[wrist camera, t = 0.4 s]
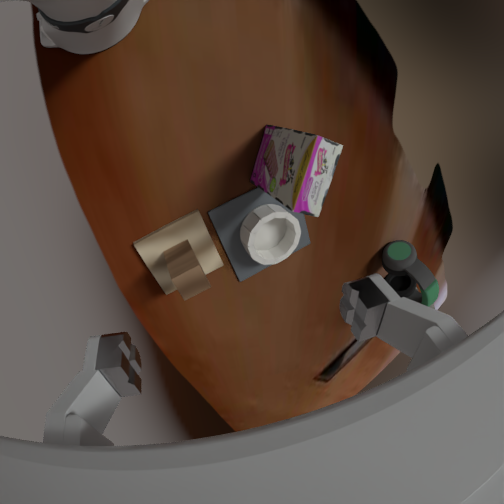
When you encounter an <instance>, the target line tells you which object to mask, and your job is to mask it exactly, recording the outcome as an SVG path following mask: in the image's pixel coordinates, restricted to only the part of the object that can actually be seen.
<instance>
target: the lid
mask: <svg viewBox="0 0 504 504" xmlns="http://www.w3.org/2000/svg"><path fill="white" fill-rule="evenodd" d="M133 243H134V246H135V248H136V249H137V251H138V253H139V254H140V256H141V257H142V259H143V261H144V262H145V264H146V265H147V267H148V268H149V270H150V271H151V273H152V274H153V276H154V277H155V279H156V280H157V282H158V283H159V285H160V286H161V288H162V289H163V291H164V292H165V294H166V295H167V294H169V293H171V292H173V291H175V290H177V289H178V291H179V293H180V294H181V296H182V297H183V299H184V300H187V299H189V298H191V297H193V296H195V295H196V294H198V293H200V292H202V291H204V290H206V289H208V288H210V287H211V285H210V283H209V281H208V279H207V277H206V274H208V273H209V272H211V271H213V270H215V269H217V268H219V267H221V266H223V263H222V260H221V258H220V256H219V254H218V252H217V250H216V248H215V245H214V243H213V241H212V239H211V237H210V235H209V232H208V230H207V228H206V226H205V224H204V221H203V219H202V217H201V215H200V213H199V210H198V209H197V210H195V211H193V212H191V213H189V214H187V215H185V216H183V217H181V218H179V219H177V220H175V221H173V222H171V223H169V224H167V225H165V226H163V227H161V228H160V229H158V230H156V231H154V232H152V233H150V234H148V235H146V236H144V237H143V238H141V239H139V240H137V241H135V242H133Z"/></svg>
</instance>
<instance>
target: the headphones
mask: <svg viewBox="0 0 504 504" xmlns="http://www.w3.org/2000/svg"><path fill="white" fill-rule="evenodd" d="M382 265H383V268H384V269H385V270H386V271H387V272H388V273H389V274H388V275H387V277H386V278H385V281H386V282H387V283H388V284H389V285H390V286H391V287H392V288H393V290H394V291H395V292H396V293H397V294H398V295H399V296H400V297H401V298H402V297H405V298H408V299H410V300H413V301H415V302H418V303H420V304H423V305H425V306H428V307H430V306H431V305H432V304H433V303H434V302H435V301H436V299H437V297H438V293H439V286H438V282H437V280H436V279H435V277H434V276H433V274H432V272H431V271H430V270H429V269H428V268H427V267H426V266H425V265H424V264H423V263H422V262H421V261H420V260H419V259H417V254H416V250H415V248H414V246H413V245H412V244H410V243H409V242H407V241H403V240H397V241H393V242H391V243H389V244H388V245H387V246H386V247H385V248H384V250H383V255H382ZM416 283H417V284H418V285H419V287H420V290H421V293H422V294H421V293H420V292H418V291H417V290H415V289H416Z"/></svg>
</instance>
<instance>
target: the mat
mask: <svg viewBox="0 0 504 504" xmlns="http://www.w3.org/2000/svg"><path fill="white" fill-rule="evenodd" d="M264 204H276V205H279V206H281V207H282V208H284V209H285V210H286V211H288V212H289V213H290V214H291V215H293V216H294V217H295V218H296V219H298V221H299V225H300V229H301V235H300V239H299V243H298V245H297V247H296V248H295V250H294V251H293V252H292V253H294V252H296V251H297V250H299V249H301V248H303V247H305V246H306V245H308V244H310V239H309V235H308V230H307V226H306V222H305V217H304V214H301V213H297V212H292V211H291V210H289V209H288V208H287V207H285V206H284V205H283V204H281V203H280V202H279V201H277V200H276V199H274V198H273V197H272V196H270V195H269V194H267V193H266V192H264V191H263V190H261V189H260V188H259V187H257V188H255V189H253V190H251V191H249V192H247V193H245V194H243V195H241V196H239V197H237V198H235V199H233V200H230V201H228V202H226V203H224V204H222V205H220V206H218V207H216V208H214V209H212V210H211V211H209V212H208V214H209V216H210V218H211V221H212V223H213V225H214V227H215V229H216V231H217V234H218V236H219V238H220V240H221V242H222V244H223V247H224V249H225V251H226V253H227V255H228V257H229V260H230V262H231V264H232V266H233V268H234V270H235V272H236V274H237V277H238V279H239V281H240V282H241V281H243V280H245V279H247V278H248V277H250V276H252V275H254V274H256V273H258V272H259V271H261V270H263V269H265V268H267V267H268V266H270V265H272V264H269V265H263V264H260V263H259V262H257V261H255V260H253V259H252V258H251V256H250V255H249V254H248V253H247V251H246V250H245V248H244V246H243V245H242V243H241V240H240V228H241V225H242V222H243V220H244V219H245V217H246V216H247V215H248V213H249V212H251V211H252V210H253V209H254V208H256V207H258V206H260V205H264ZM292 253H291V254H292Z"/></svg>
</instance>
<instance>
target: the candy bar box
mask: <svg viewBox="0 0 504 504" xmlns="http://www.w3.org/2000/svg"><path fill="white" fill-rule="evenodd" d="M342 147H343V145H340V144H338V143H335V142H333V141H331V140H328V139H326V138H323V137H320V136H318V135H315V134H310V133H306V132H302V131H297V130H292V129H288V128H282V127H277V126H272V125H266V127H265V131H264V134H263V138H262V141H261V145H260V148H259V152H258V155H257V158H256V162H255V165H254V169H253V172H252V176H251V179H250V182H251V183H253V184H254V185H256V186H257V187H259V188H260V189H261V190H263V191H264V192H266V193H267V194H269V195H270V196H272V197H273V198H274V199H276V200H277V201H279V202H280V203H281V204H283V205H284V206H285V207H287V208H288V209H289V210H291V211H292V212H297V213H301V214H306V215H311V216H315V217H319V214H320V211H321V208H322V206H323V203H324V200H325V197H326V194H327V192H328V189H329V186H330V183H331V180H332V177H333V174H334V171H335V168H336V165H337V162H338V159H339V156H340V153H341V150H342Z"/></svg>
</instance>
